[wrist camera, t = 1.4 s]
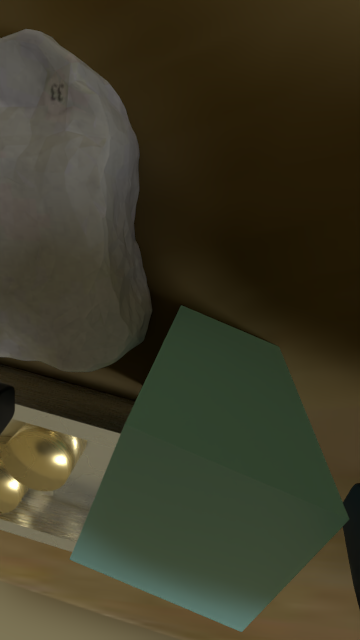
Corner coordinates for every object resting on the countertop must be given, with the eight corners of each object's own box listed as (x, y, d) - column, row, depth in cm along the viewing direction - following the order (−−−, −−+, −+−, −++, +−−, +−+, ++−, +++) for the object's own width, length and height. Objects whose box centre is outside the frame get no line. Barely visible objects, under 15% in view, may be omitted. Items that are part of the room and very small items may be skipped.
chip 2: (89, 419, 13) (70, 448, 12) (83, 466, 15) (65, 498, 13) (29, 401, 14) (1, 428, 12) (27, 449, 15) (2, 480, 13)
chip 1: (43, 445, 14) (19, 475, 13) (40, 487, 16) (18, 520, 14) (-14, 428, 15) (-44, 456, 13) (-12, 472, 16) (-40, 502, 14)
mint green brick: (278, 346, 12) (349, 519, 5) (232, 423, 13) (241, 631, 7) (181, 305, 12) (124, 423, 5) (146, 386, 13) (69, 559, 7)
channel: (241, 430, 13) (244, 468, 11) (198, 544, 16) (195, 590, 14) (-8, 361, 14) (-47, 386, 12) (-5, 482, 17) (-35, 518, 15)
